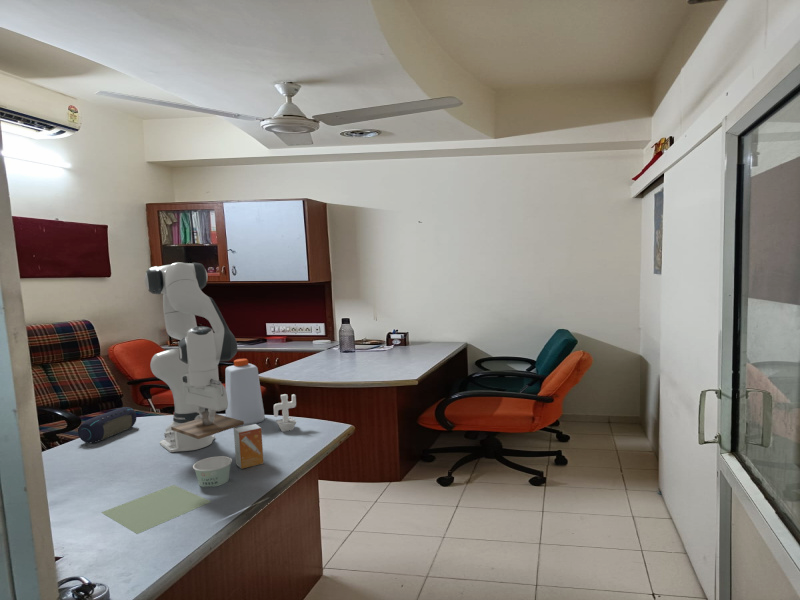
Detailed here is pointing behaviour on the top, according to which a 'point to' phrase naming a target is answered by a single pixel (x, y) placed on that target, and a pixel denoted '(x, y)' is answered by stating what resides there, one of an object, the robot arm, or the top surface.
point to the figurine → (285, 413)
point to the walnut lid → (207, 426)
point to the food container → (213, 471)
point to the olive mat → (155, 508)
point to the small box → (248, 446)
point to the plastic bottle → (244, 393)
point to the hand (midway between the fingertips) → (207, 420)
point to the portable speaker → (107, 425)
